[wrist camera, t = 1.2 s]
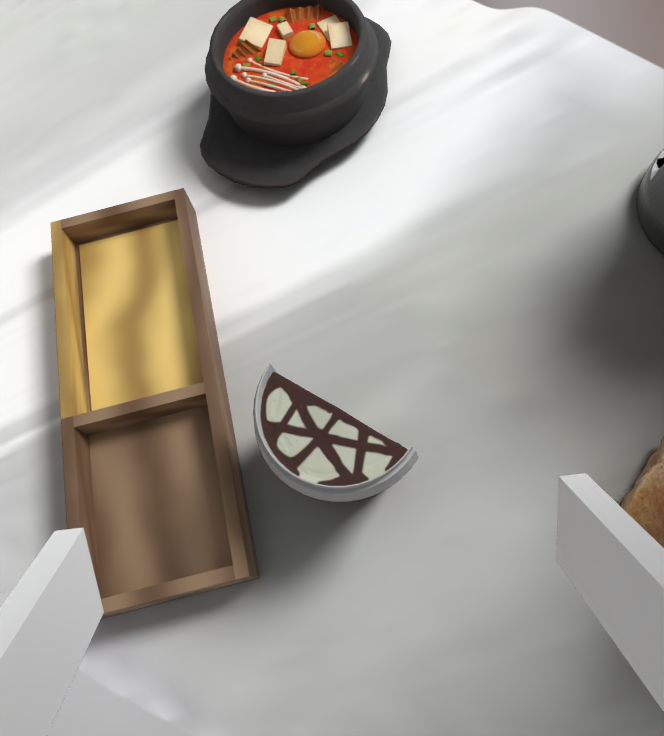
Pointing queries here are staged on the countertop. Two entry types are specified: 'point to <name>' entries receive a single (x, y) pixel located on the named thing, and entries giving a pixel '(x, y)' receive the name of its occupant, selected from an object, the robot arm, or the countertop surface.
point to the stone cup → (649, 497)
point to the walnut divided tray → (146, 406)
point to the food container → (323, 444)
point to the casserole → (291, 87)
